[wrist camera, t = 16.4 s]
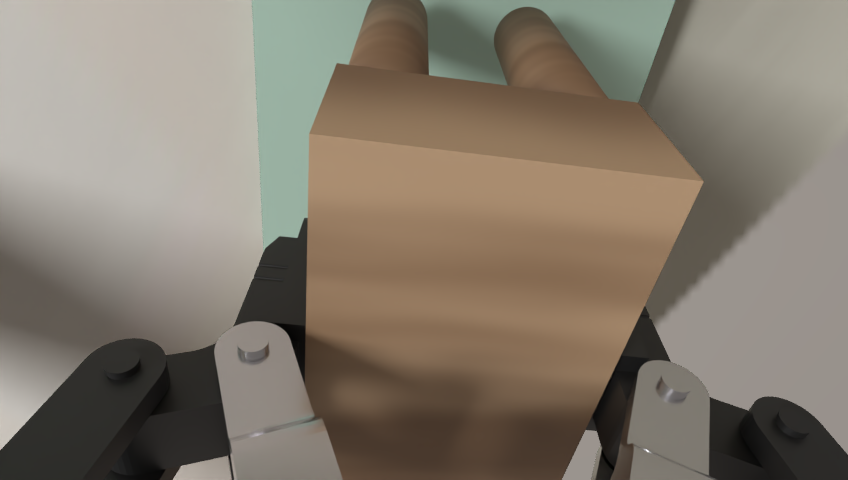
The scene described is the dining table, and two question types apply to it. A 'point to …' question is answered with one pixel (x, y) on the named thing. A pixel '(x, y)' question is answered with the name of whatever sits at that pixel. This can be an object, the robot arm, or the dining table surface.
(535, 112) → the stool
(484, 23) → the mat
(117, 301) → the dining table surface
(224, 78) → the dining table surface
